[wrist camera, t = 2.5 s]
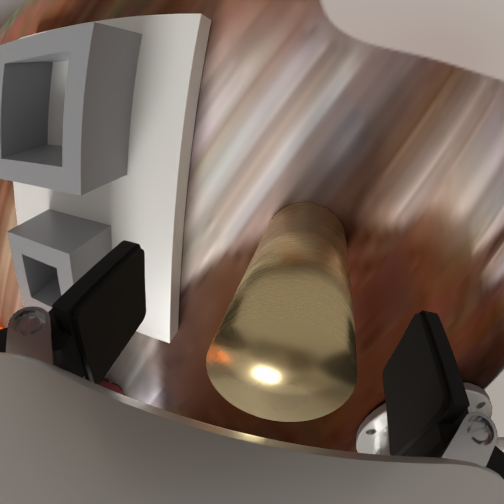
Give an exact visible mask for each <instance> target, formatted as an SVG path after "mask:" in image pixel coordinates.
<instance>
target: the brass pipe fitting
mask: <svg viewBox="0 0 504 504" xmlns="http://www.w3.org/2000/svg"><path fill="white" fill-rule="evenodd" d="M206 367H207V372H208V375H209V378H210V380H211V382H212V384H213V385H214V387H215V388H216V390H217V391H218V392H219V393H220V394H221V395H222V396H223V397H224V398H225V399H226V400H227V401H229V402H230V403H231V404H233V405H234V406H236V407H238V408H239V409H241V410H243V411H245V412H247V413H249V414H252V415H255V416H257V417H261V418H264V419H269V420H274V421H283V422H297V421H306V420H311V419H316V418H319V417H322V416H324V415H327V414H329V413H331V412H333V411H334V410H336V409H338V408H339V407H340V406H341V405H343V404H344V403H345V402H346V401H347V400H348V398H349V397H350V396H351V394H352V392H353V390H354V388H355V385H356V381H357V362H356V343H355V327H354V313H353V301H352V290H351V280H350V270H349V261H348V252H347V244H346V236H345V231H344V228H343V226H342V224H341V222H340V220H339V219H338V217H337V216H336V215H335V214H334V213H333V212H331V211H330V210H329V209H327V208H326V207H324V206H321V205H319V204H316V203H311V202H298V203H294V204H291V205H288V206H286V207H284V208H282V209H281V210H279V211H278V212H277V213H276V214H275V215H274V216H273V218H272V219H271V221H270V222H269V225H268V227H267V229H266V231H265V233H264V235H263V237H262V239H261V241H260V243H259V245H258V248H257V250H256V252H255V254H254V256H253V258H252V260H251V262H250V264H249V266H248V268H247V270H246V273H245V275H244V277H243V279H242V281H241V283H240V285H239V287H238V289H237V291H236V293H235V295H234V298H233V300H232V302H231V304H230V306H229V308H228V310H227V312H226V314H225V316H224V318H223V320H222V322H221V325H220V327H219V329H218V331H217V333H216V335H215V337H214V339H213V341H212V343H211V345H210V348H209V350H208V353H207V357H206Z"/></svg>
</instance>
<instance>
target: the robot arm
mask: <svg viewBox="0 0 504 504" xmlns="http://www.w3.org/2000/svg"><path fill="white" fill-rule="evenodd" d="M145 315H146V292H145V253H144V250H143V249H141V247H140V245H139V244H138V243H134V242H130V241H126V240H123V241H122V242H120V243H119V244H118V245H117V246H116V247H115V248H114V249H112V250H111V251H110V252H109V253H108V254H107V255H106V256H104V257H103V258H102V259H101V260H100V261H99V262H98V263H96V264H95V265H94V266H93V267H92V268H91V269H90V270H89V271H88V272H86V273H85V274H84V275H83V276H82V277H81V278H80V279H79V280H78V281H77V282H76V283H75V284H73V285H72V286H71V287H70V288H69V289H68V290H67V291H66V292H65V293H64V294H63V295H62V296H61V297H60V298H59V299H58V300H57V301H56V302H55V303H53V304H52V309H51V310H50V311H49V312H47V311H46V310H45V309H43V308H41V307H36V306H30V307H26V308H22V309H20V310H18V311H17V312H16V313H14V314H13V315H12V317H11V318H10V320H9V323H8V328H3V329H0V504H504V453H503V452H502V451H501V450H503V449H504V437H498V436H497V430H496V427H495V424H494V423H493V421H492V420H491V419H490V418H491V415H492V405H491V402H490V399H489V396H488V395H487V393H486V392H485V390H483V389H482V388H480V387H479V386H476V385H474V384H471V383H464V382H463V381H462V378H461V375H460V372H459V369H458V366H457V363H456V360H455V357H454V355H453V352H452V349H451V346H450V344H449V341H448V339H447V336H446V333H445V331H444V328H443V326H442V323H441V321H440V318H439V316H438V314H436V313H432V312H428V311H421V312H420V313H419V314H415V315H414V317H413V318H412V320H411V322H410V324H409V326H408V328H407V330H406V331H405V333H404V335H403V337H402V339H401V340H400V342H399V344H398V346H397V347H396V349H395V351H394V353H393V354H392V356H391V358H390V359H389V361H388V363H387V364H386V366H385V368H384V371H383V384H384V393H385V402H386V403H384V404H383V405H381V406H380V407H378V408H377V409H375V410H374V411H373V412H372V413H371V414H370V415H368V416H367V417H366V419H365V420H364V421H363V422H362V423H361V425H360V427H359V429H358V431H357V437H356V446H357V451H358V453H356V452H347V451H338V450H330V449H323V448H317V447H310V446H304V445H298V444H292V443H287V442H282V441H277V440H272V439H267V438H262V437H258V436H253V435H249V434H245V433H241V432H236V431H233V430H229V429H225V428H221V427H217V426H214V425H210V424H207V423H203V422H200V421H197V420H193V419H190V418H187V417H183V416H180V415H177V414H174V413H171V412H168V411H165V410H162V409H159V408H157V407H154V406H151V405H148V404H145V403H143V402H140V401H137V400H135V399H132V398H130V397H127V396H125V395H122V394H120V393H117V392H115V391H112V390H110V389H107V388H105V387H102V386H100V385H98V384H100V382H101V381H102V380H103V378H104V377H105V375H106V374H107V372H108V371H109V369H110V368H111V366H112V365H113V363H114V362H115V360H116V359H117V357H118V356H119V355H120V353H121V352H122V350H123V349H124V347H125V346H126V344H127V343H128V342H129V340H130V339H131V337H132V336H133V334H134V333H135V332H136V330H137V329H138V327H139V326H140V324H141V323H142V322H143V320H144V318H145Z"/></svg>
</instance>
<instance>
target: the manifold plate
mask: <svg viewBox="0 0 504 504" xmlns="http://www.w3.org/2000/svg"><path fill="white" fill-rule="evenodd" d="M211 21H212V20H210V19H209V18H207V17H206V16H204V15H203V14H160V15H144V16H133V17H123V18H115V19H107V20H100V21H94V22H88V23H82V24H77V25H71V26H67V27H62V28H57V29H53V30H49V31H45V32H41V33H37V34H33V35H30V36H26V37H23V38H19V39H18V40H15V41H12V42H9V43H5V44H2V45H0V179H4V180H9V181H13V184H14V196H15V206H16V214H17V222H18V226H16V227H15V228H13V229H11V230H9V231H8V237H9V242H10V248H11V253H12V258H13V263H14V268H15V272H16V277H17V281H18V285H19V289H20V293H21V297H22V300H23V304H24V306H25V307H30V306H36V307H41V308H43V309H45V310H46V311H47V312H49V311H50V310H51V309H52V304H53V303H55V302H56V301H57V300H58V299H59V298H60V297H61V296H62V295H63V294H64V293H65V292H66V291H67V290H68V289H69V288H70V287H71V286H72V285H73V284H75V283H76V282H77V281H78V280H79V279H80V278H81V277H82V276H83V275H84V274H85V273H86V272H88V271H89V270H90V269H91V268H92V267H93V266H94V265H95V264H96V263H98V262H99V261H100V260H101V259H102V258H103V257H104V256H106V255H107V254H108V253H109V252H110V251H111V250H112V249H114V248H115V247H116V246H117V245H118V244H119V243H120V242H122V241H123V240H126V241H130V242H134V243H138V244H139V245H140V247H141V249H143V250H144V253H145V292H146V315H145V318H144V320H143V322H142V323H141V324H140V326H139V327H138V329H137V330H136V332H139V333H142V334H145V335H147V336H150V337H153V338H156V339H159V340H161V341H164V342H167V343H170V342H171V341H172V339H173V338H174V336H175V334H176V333H177V331H178V319H179V294H180V275H181V259H182V244H183V231H184V218H185V207H186V196H187V186H188V176H189V167H190V158H191V150H192V141H193V133H194V126H195V118H196V111H197V104H198V97H199V90H200V84H201V77H202V71H203V65H204V59H205V53H206V48H207V42H208V37H209V31H210V26H211Z"/></svg>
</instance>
